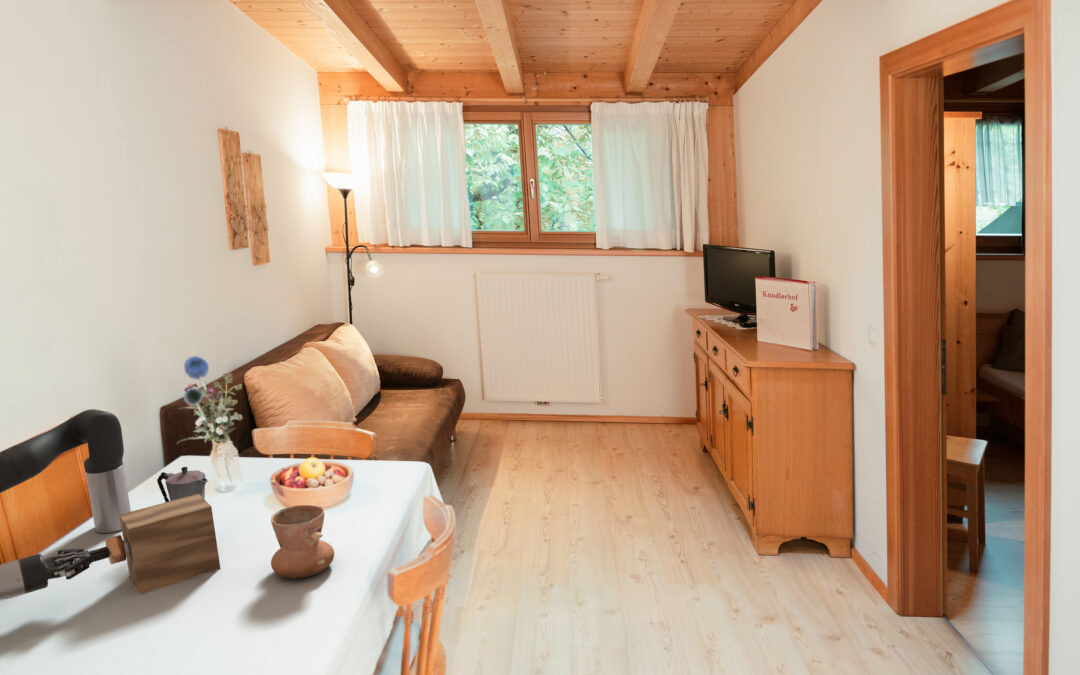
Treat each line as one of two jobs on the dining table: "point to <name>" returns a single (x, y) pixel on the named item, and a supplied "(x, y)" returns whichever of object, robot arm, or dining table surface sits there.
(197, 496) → the press housing
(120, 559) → the plunger
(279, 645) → the dining table surface
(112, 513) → the robot arm
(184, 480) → the moka pot
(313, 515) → the ceramic jug
